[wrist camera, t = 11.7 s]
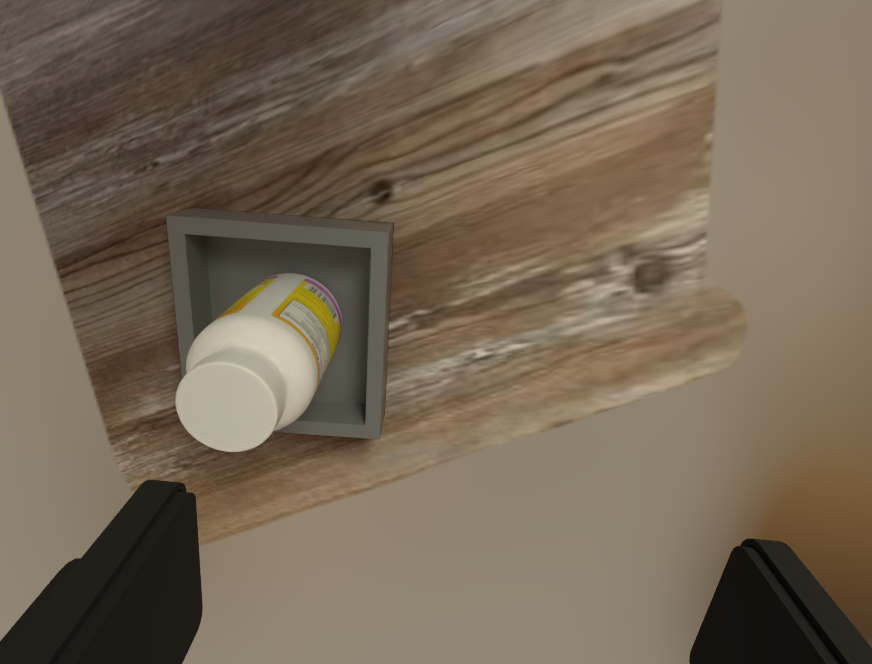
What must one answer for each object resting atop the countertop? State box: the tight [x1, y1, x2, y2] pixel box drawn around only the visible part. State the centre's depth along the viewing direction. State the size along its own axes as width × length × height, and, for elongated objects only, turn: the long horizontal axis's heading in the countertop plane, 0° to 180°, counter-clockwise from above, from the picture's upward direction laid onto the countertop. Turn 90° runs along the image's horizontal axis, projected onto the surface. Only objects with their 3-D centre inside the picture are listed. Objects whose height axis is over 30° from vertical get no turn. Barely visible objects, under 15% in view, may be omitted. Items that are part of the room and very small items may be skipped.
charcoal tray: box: [166, 208, 394, 439], centre depth 36 cm, size 14×13×4 cm
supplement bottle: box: [175, 273, 342, 452], centre depth 31 cm, size 7×7×13 cm
